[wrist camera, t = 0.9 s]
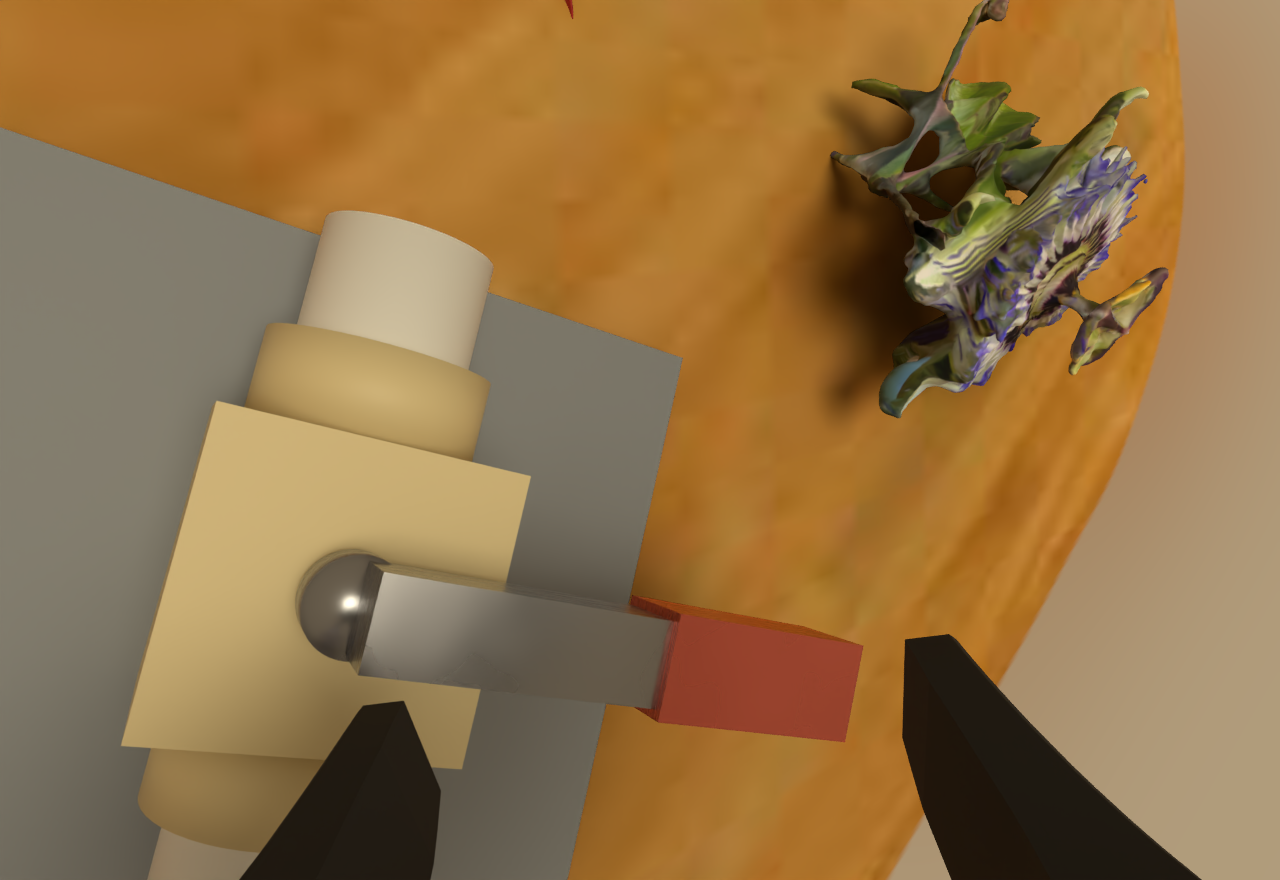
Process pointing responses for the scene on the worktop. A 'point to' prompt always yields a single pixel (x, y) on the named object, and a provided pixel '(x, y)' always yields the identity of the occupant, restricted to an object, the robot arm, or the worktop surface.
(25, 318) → the valve board
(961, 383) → the passion flower
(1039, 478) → the worktop surface
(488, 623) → the valve lever
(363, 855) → the robot arm
